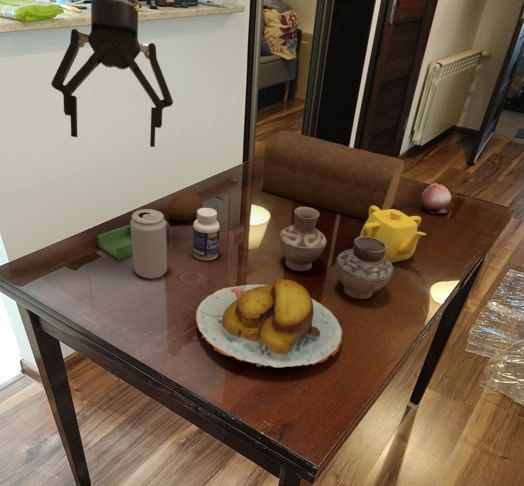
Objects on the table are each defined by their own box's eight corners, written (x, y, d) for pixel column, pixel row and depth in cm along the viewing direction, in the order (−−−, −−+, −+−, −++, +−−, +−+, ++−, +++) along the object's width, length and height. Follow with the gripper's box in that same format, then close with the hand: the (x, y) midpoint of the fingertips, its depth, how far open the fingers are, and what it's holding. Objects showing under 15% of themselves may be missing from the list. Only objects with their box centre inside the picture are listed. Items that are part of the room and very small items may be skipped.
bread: (279, 175, 141) (286, 124, 132) (392, 207, 132) (407, 154, 123) (258, 191, 131) (264, 136, 122) (379, 226, 122) (394, 170, 113)
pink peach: (427, 202, 137) (435, 177, 133) (451, 212, 133) (461, 186, 129) (412, 208, 132) (421, 183, 128) (437, 219, 129) (447, 193, 124)
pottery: (292, 247, 109) (300, 196, 101) (394, 291, 99) (411, 238, 92) (263, 266, 102) (270, 212, 94) (370, 315, 92) (387, 260, 84)
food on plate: (171, 311, 87) (170, 280, 82) (283, 279, 98) (287, 251, 94) (247, 402, 71) (250, 370, 67) (368, 352, 83) (378, 322, 79)
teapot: (419, 249, 114) (433, 208, 108) (412, 275, 105) (427, 231, 98) (362, 235, 117) (373, 194, 111) (351, 258, 108) (361, 215, 101)
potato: (209, 217, 116) (210, 192, 112) (182, 230, 110) (182, 204, 106) (188, 208, 119) (188, 183, 115) (161, 221, 112) (160, 195, 108)
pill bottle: (208, 264, 100) (210, 220, 94) (187, 255, 102) (187, 212, 95) (223, 254, 104) (225, 211, 97) (202, 246, 105) (203, 203, 99)
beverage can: (149, 260, 99) (145, 204, 91) (174, 270, 97) (172, 214, 89) (127, 272, 95) (121, 215, 87) (152, 284, 92) (149, 226, 85)
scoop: (119, 260, 98) (118, 248, 96) (98, 246, 101) (97, 235, 99) (178, 236, 108) (178, 226, 106) (157, 225, 111) (157, 214, 109)
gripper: (188, 24, 87) (181, 150, 94) (37, -6, 81) (43, 133, 88) (192, 13, 80) (184, 150, 88) (28, -20, 74) (35, 131, 81)
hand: (114, 142), depth 88 cm, fingers open, 13 cm apart
